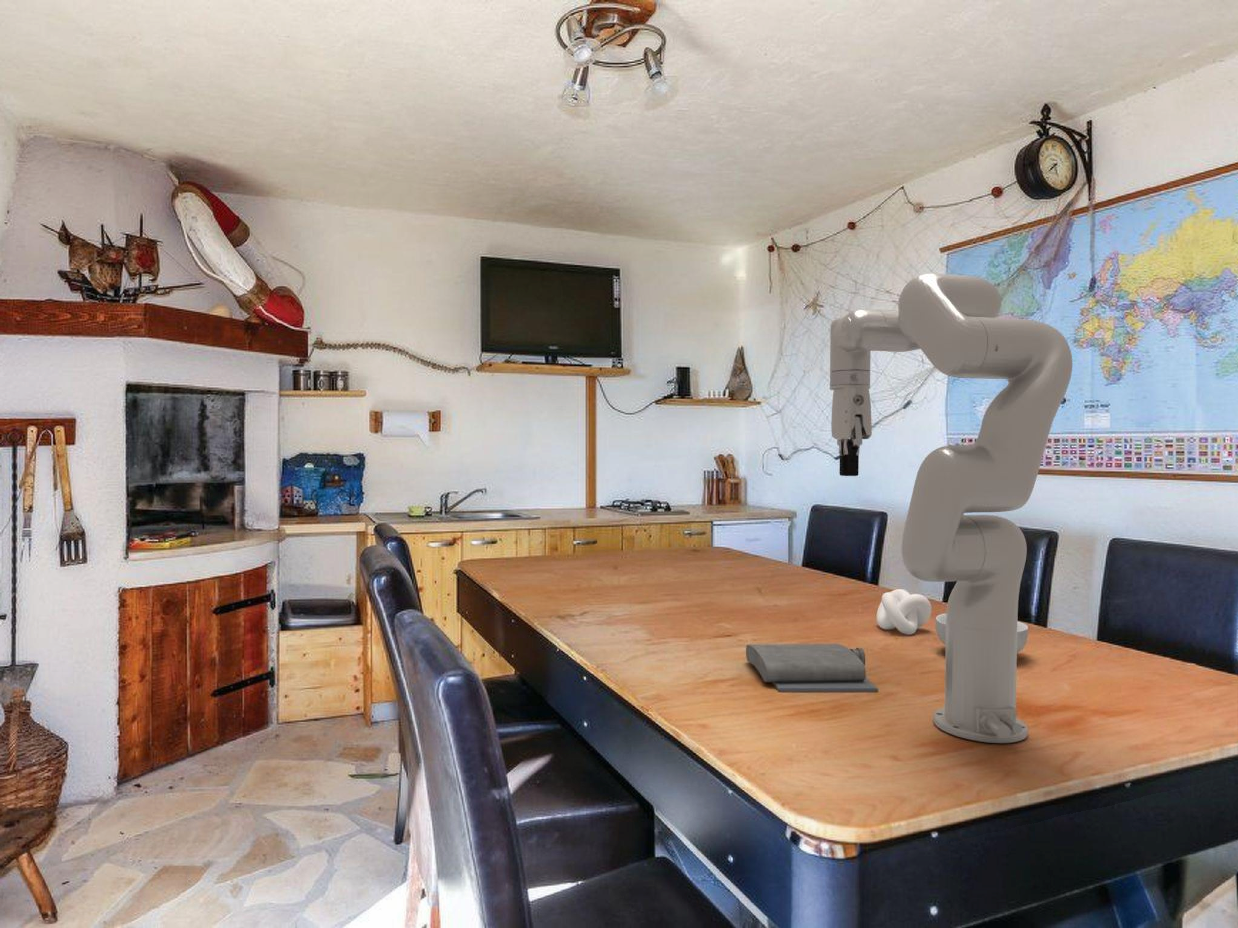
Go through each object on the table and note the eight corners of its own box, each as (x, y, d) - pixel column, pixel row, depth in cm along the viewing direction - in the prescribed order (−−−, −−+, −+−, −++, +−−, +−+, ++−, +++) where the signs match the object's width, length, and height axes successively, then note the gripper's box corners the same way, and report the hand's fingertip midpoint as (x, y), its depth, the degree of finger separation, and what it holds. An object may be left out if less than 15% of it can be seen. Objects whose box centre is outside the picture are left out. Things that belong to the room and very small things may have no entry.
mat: (878, 691, 130) (878, 688, 130) (778, 691, 129) (778, 688, 129) (841, 659, 150) (841, 656, 150) (755, 659, 149) (755, 656, 149)
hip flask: (766, 684, 131) (879, 682, 133) (766, 660, 131) (880, 659, 133) (745, 659, 147) (846, 657, 149) (746, 638, 147) (847, 637, 148)
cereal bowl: (974, 670, 143) (975, 633, 143) (917, 648, 159) (917, 614, 159) (1048, 664, 147) (1048, 627, 147) (985, 643, 163) (985, 610, 163)
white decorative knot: (922, 625, 179) (923, 587, 179) (938, 638, 167) (939, 597, 167) (873, 624, 180) (873, 586, 180) (885, 636, 169) (886, 596, 168)
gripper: (884, 378, 141) (883, 477, 141) (855, 385, 156) (854, 474, 156) (844, 377, 140) (843, 477, 141) (818, 384, 155) (818, 474, 156)
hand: (848, 475), depth 148 cm, fingers closed
